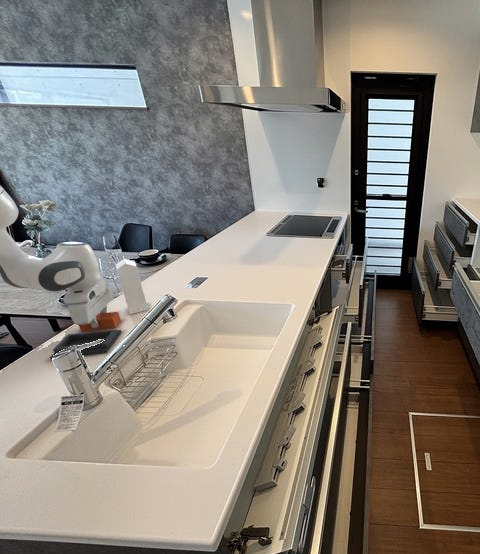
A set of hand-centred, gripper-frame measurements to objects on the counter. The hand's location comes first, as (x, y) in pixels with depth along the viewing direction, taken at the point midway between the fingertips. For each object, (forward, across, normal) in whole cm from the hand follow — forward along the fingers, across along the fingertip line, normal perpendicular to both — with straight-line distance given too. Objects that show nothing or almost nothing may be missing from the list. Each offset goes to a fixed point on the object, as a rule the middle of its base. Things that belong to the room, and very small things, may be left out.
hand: (100, 322), depth 109 cm
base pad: (+2, +12, +1) cm, 12 cm away
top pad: (+2, 0, 0) cm, 2 cm away
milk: (+2, -11, +8) cm, 14 cm away
